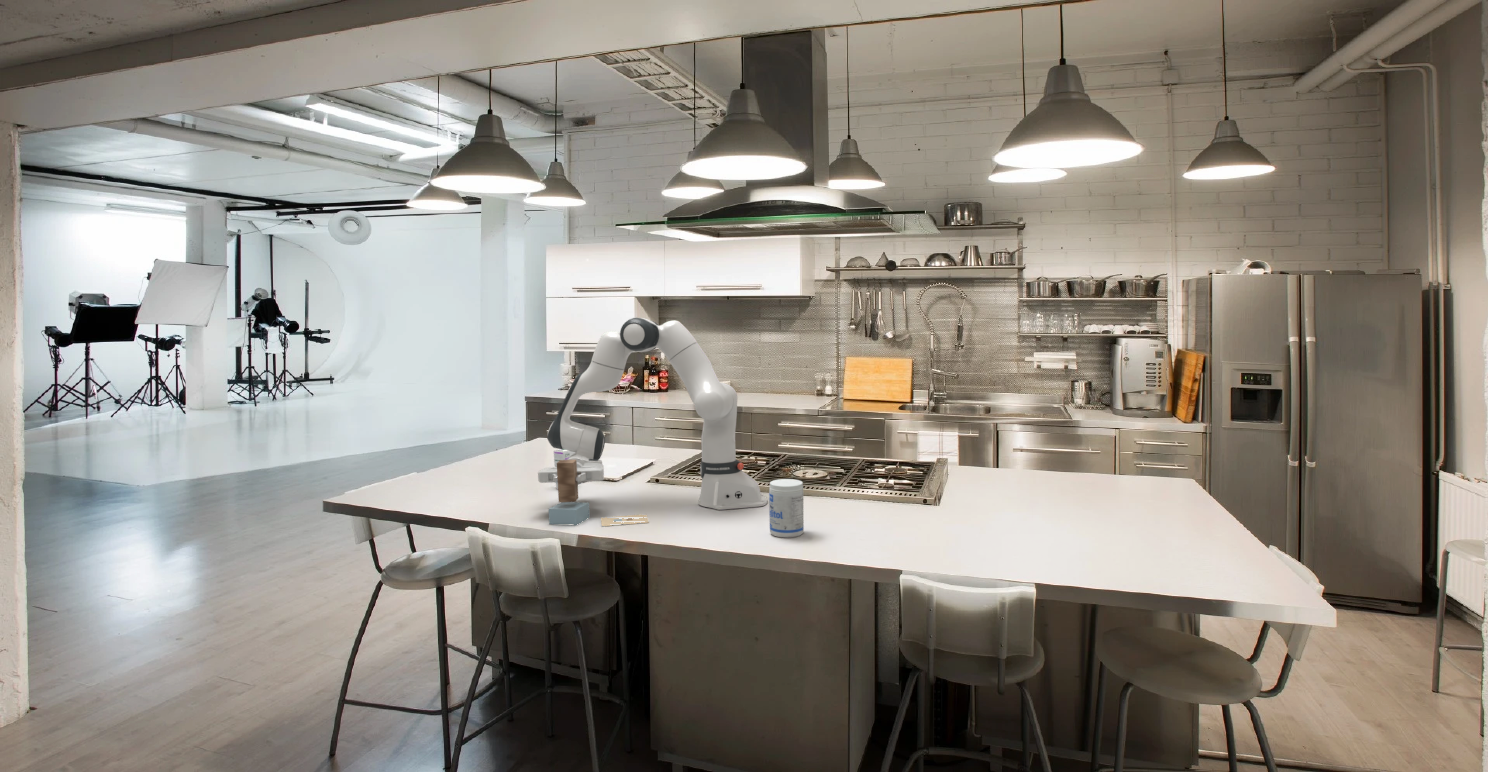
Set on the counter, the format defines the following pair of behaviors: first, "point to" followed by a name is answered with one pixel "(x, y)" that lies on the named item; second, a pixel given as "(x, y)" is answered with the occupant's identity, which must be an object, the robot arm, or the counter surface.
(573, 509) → the brick
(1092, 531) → the counter surface
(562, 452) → the syrup box
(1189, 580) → the counter surface
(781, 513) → the supplement tub
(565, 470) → the block
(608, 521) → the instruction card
